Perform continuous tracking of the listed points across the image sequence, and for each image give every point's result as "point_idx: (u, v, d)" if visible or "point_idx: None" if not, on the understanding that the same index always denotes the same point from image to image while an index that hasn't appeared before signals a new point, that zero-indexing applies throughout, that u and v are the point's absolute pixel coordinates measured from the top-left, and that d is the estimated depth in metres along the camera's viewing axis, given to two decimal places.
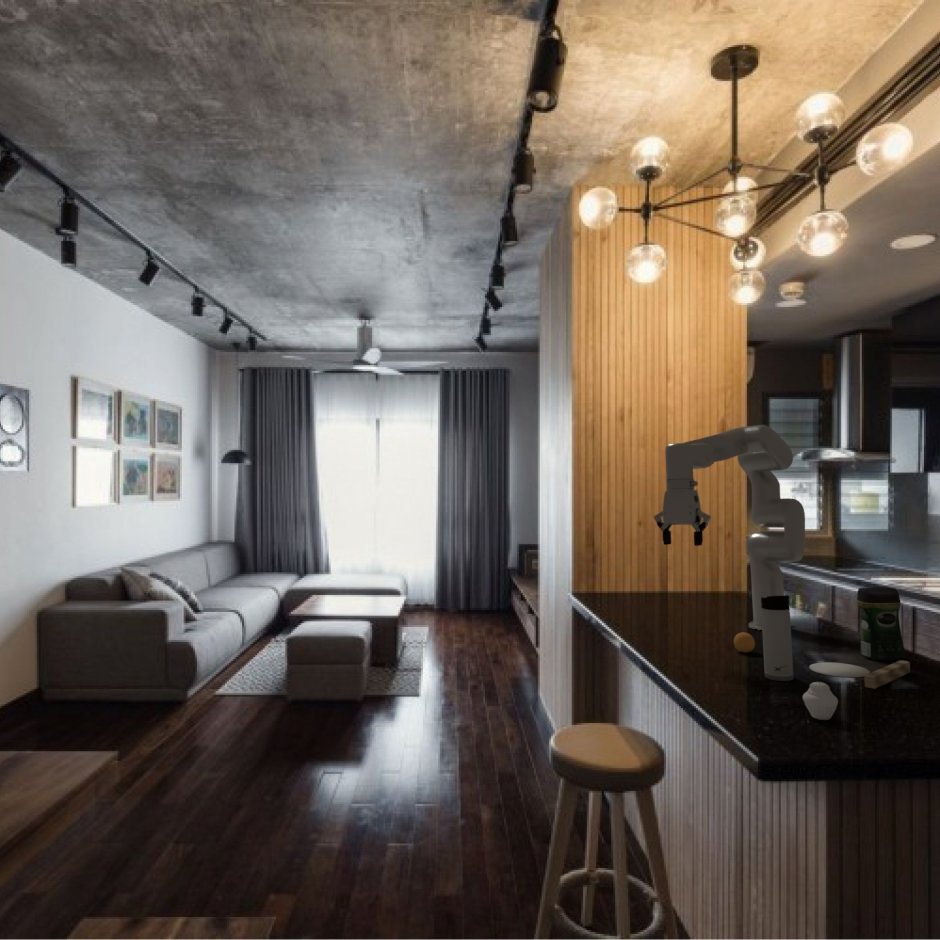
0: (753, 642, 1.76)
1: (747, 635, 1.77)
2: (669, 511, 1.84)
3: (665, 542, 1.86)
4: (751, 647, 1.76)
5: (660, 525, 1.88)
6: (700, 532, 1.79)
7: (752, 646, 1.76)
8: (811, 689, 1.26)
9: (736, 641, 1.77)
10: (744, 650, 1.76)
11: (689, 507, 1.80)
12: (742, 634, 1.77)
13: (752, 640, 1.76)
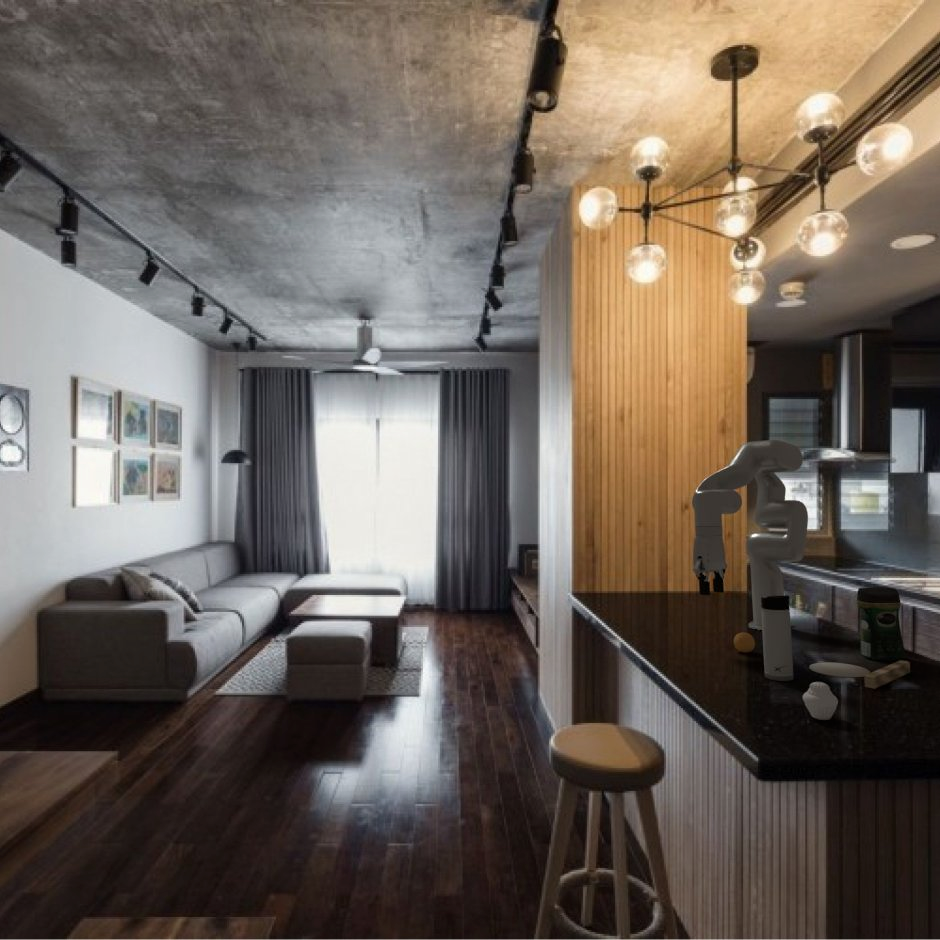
0: (753, 642, 1.76)
1: (747, 635, 1.77)
2: (712, 558, 1.84)
3: None
4: (751, 647, 1.76)
5: (703, 576, 1.83)
6: None
7: (752, 646, 1.76)
8: (811, 689, 1.26)
9: (736, 641, 1.77)
10: (744, 650, 1.76)
11: (724, 553, 1.88)
12: (742, 634, 1.77)
13: (752, 640, 1.76)
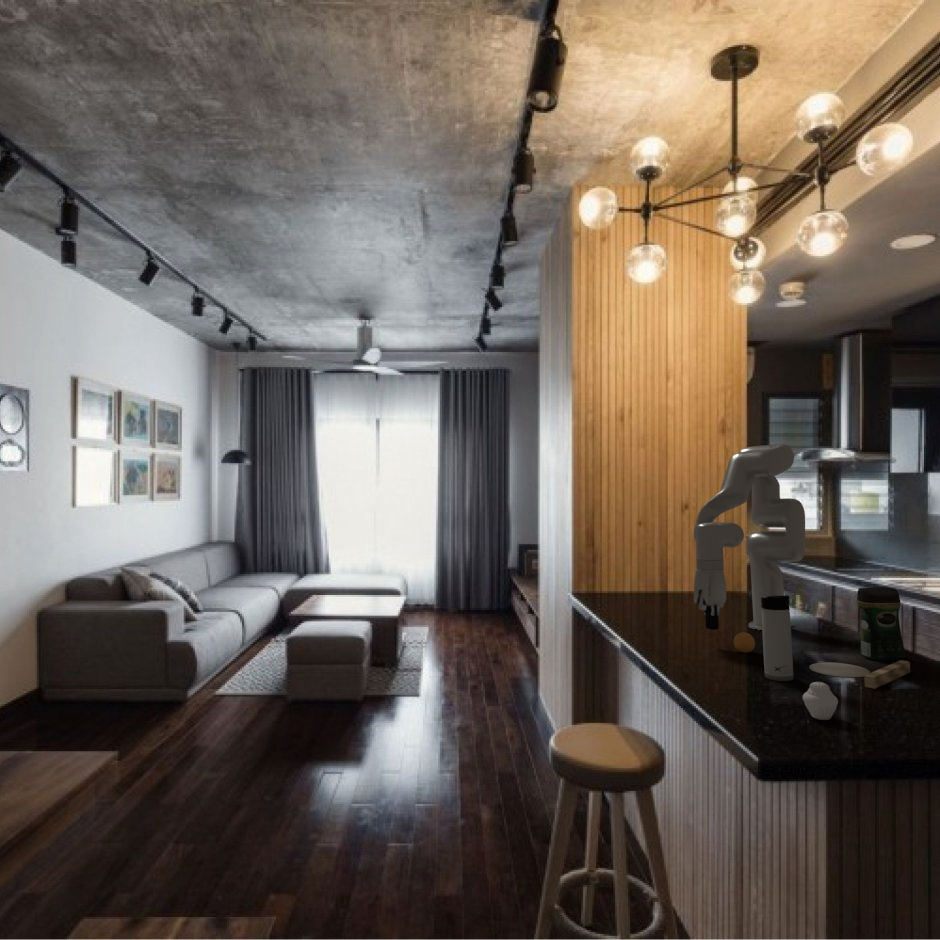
0: (753, 642, 1.76)
1: (747, 635, 1.77)
2: (713, 592, 1.83)
3: None
4: (751, 647, 1.76)
5: (709, 610, 1.84)
6: None
7: (752, 646, 1.76)
8: (811, 689, 1.26)
9: (736, 641, 1.77)
10: (744, 650, 1.76)
11: (725, 586, 1.87)
12: (742, 634, 1.77)
13: (752, 640, 1.76)
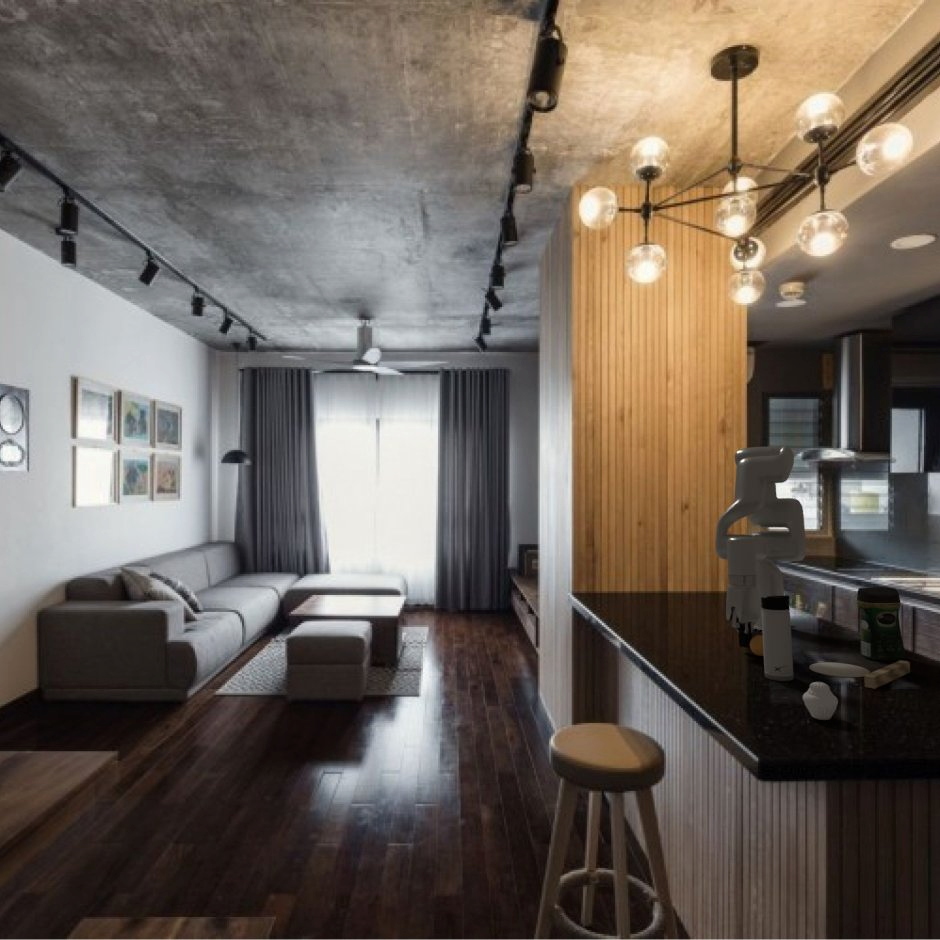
0: None
1: None
2: (746, 609, 1.75)
3: None
4: None
5: (743, 628, 1.76)
6: None
7: None
8: (811, 689, 1.26)
9: (756, 645, 1.72)
10: None
11: (758, 602, 1.79)
12: None
13: None
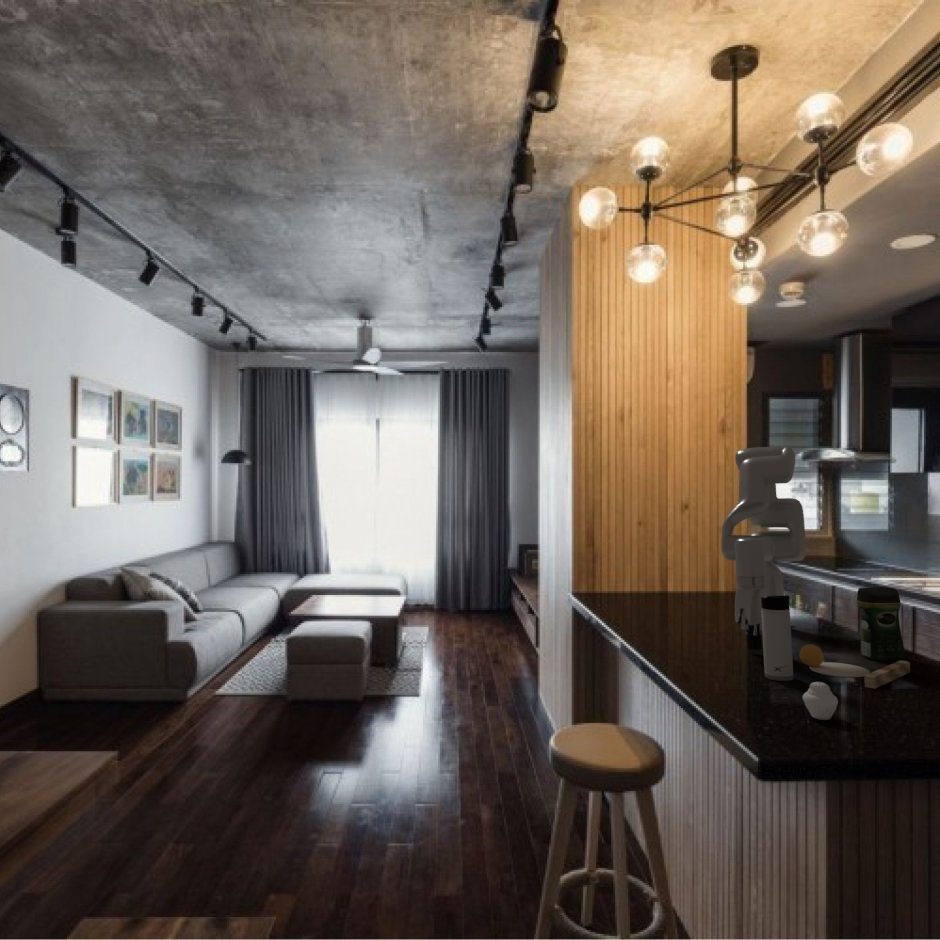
0: (822, 659, 1.60)
1: (818, 650, 1.60)
2: (755, 610, 1.73)
3: None
4: (818, 664, 1.60)
5: (752, 630, 1.74)
6: None
7: (820, 663, 1.60)
8: (811, 689, 1.26)
9: (804, 654, 1.61)
10: (810, 665, 1.61)
11: None
12: (812, 648, 1.61)
13: (822, 657, 1.60)
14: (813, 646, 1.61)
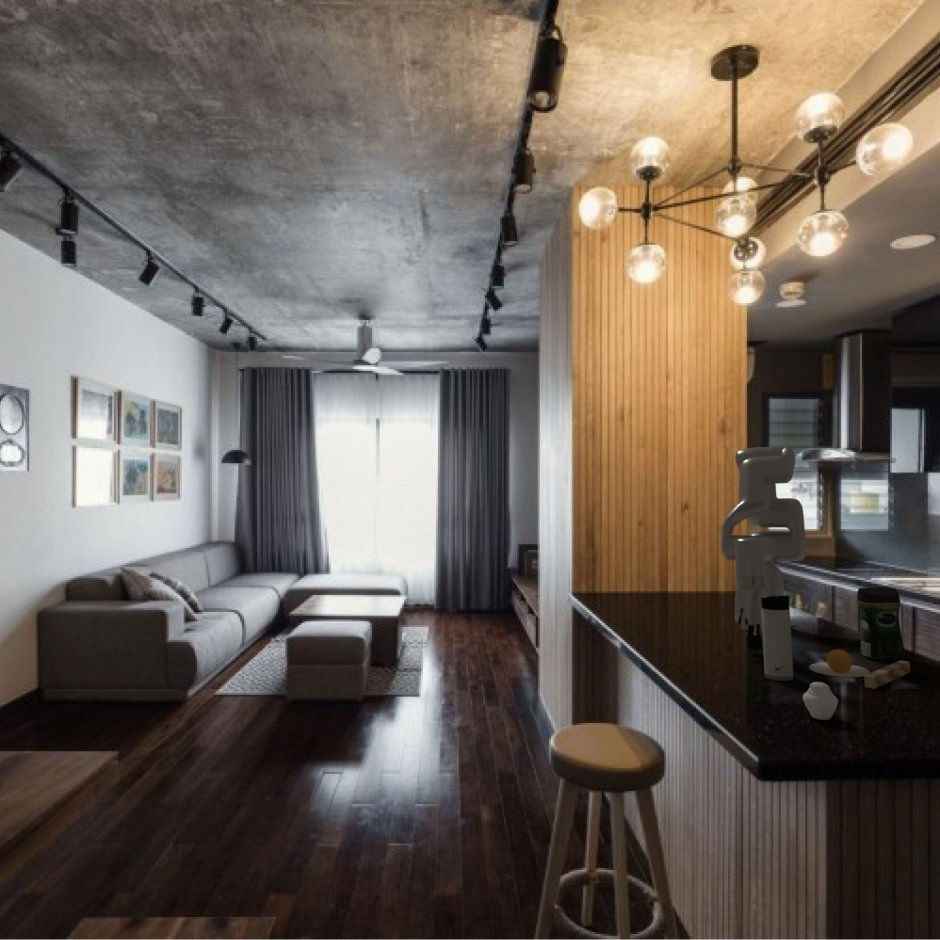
0: None
1: None
2: (755, 610, 1.73)
3: None
4: None
5: (752, 630, 1.74)
6: None
7: None
8: (811, 689, 1.26)
9: (836, 664, 1.54)
10: (828, 655, 1.57)
11: None
12: (838, 671, 1.55)
13: None
14: (841, 672, 1.55)
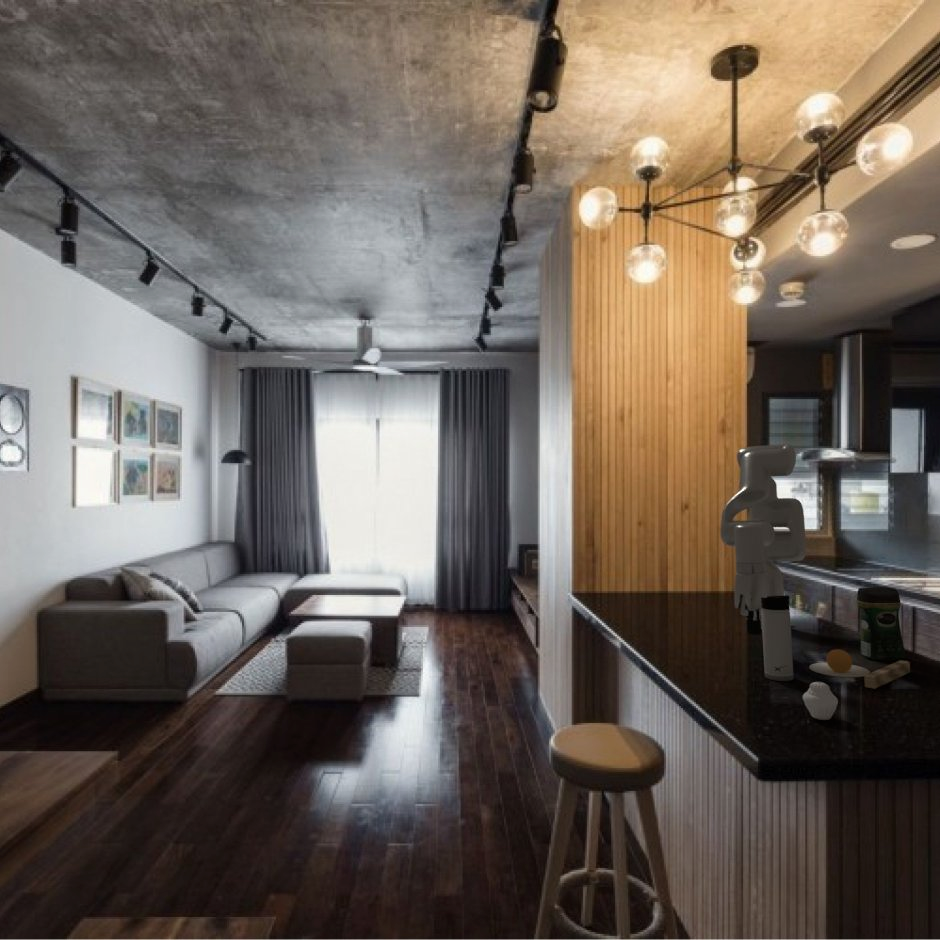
0: None
1: None
2: (755, 596, 1.74)
3: None
4: None
5: (752, 615, 1.75)
6: None
7: None
8: (811, 689, 1.26)
9: (836, 664, 1.54)
10: (828, 655, 1.57)
11: (766, 589, 1.78)
12: (838, 671, 1.55)
13: None
14: (841, 672, 1.55)
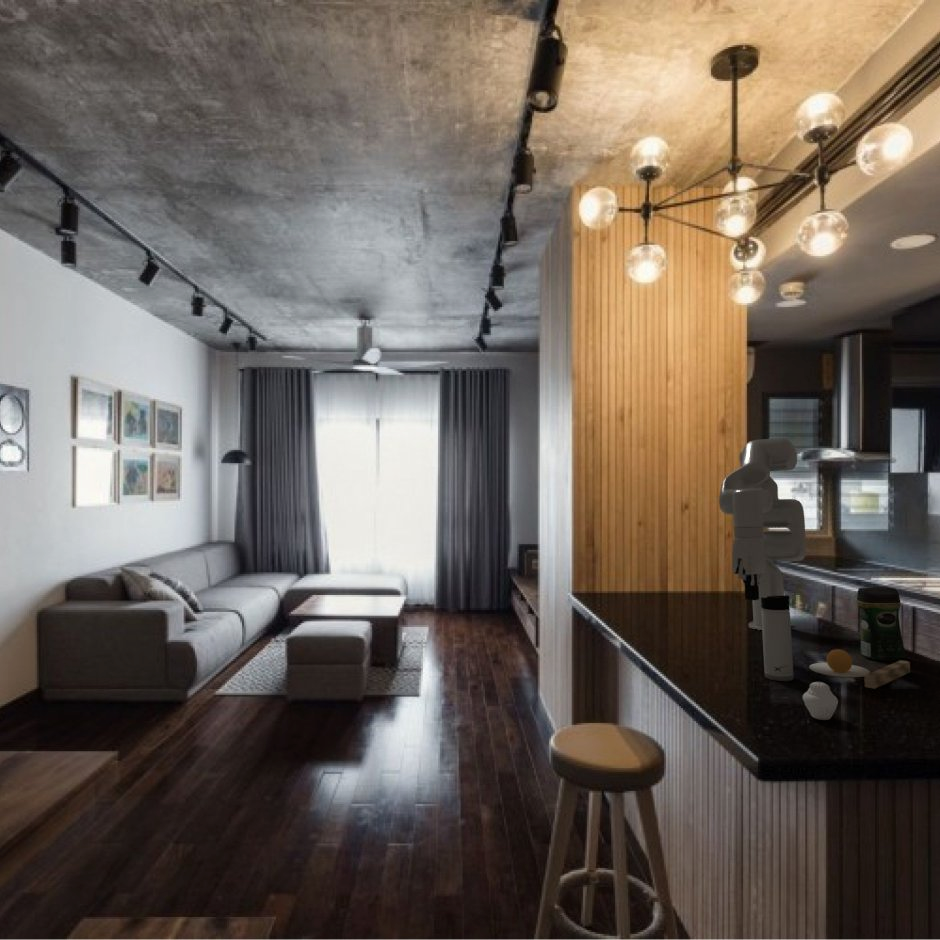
0: None
1: None
2: (753, 560, 1.74)
3: None
4: None
5: (749, 580, 1.75)
6: None
7: None
8: (811, 689, 1.26)
9: (836, 664, 1.54)
10: (828, 655, 1.57)
11: (764, 555, 1.77)
12: (838, 671, 1.55)
13: None
14: (841, 672, 1.55)
